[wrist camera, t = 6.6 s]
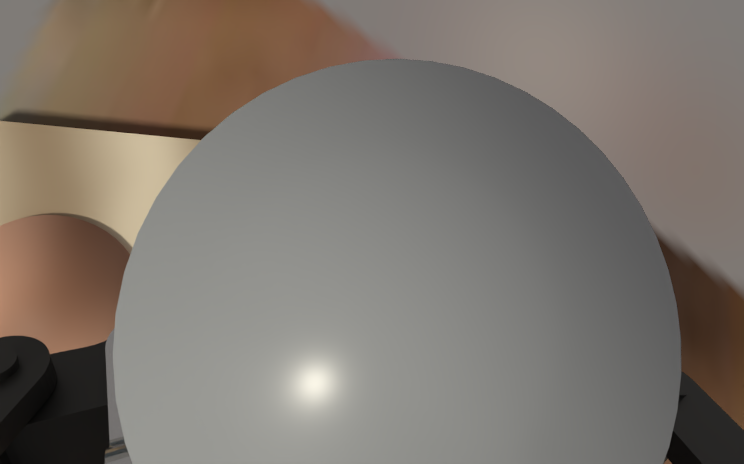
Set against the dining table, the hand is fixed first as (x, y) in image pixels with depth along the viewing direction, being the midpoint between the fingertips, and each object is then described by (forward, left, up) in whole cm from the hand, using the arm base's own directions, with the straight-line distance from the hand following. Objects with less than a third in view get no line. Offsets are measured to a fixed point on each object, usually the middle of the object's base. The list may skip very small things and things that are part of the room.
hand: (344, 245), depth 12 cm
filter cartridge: (0, -2, -7) cm, 7 cm away
